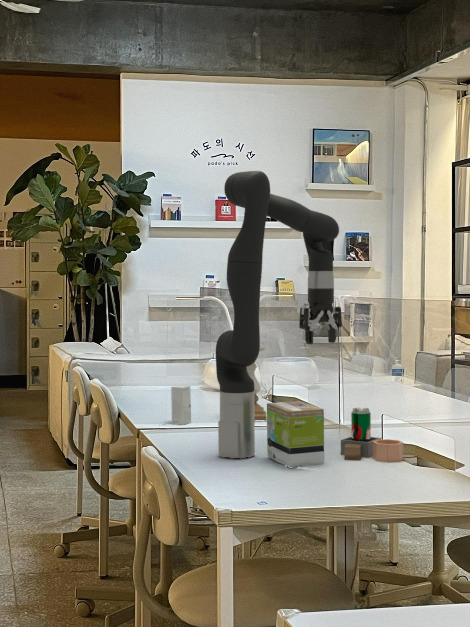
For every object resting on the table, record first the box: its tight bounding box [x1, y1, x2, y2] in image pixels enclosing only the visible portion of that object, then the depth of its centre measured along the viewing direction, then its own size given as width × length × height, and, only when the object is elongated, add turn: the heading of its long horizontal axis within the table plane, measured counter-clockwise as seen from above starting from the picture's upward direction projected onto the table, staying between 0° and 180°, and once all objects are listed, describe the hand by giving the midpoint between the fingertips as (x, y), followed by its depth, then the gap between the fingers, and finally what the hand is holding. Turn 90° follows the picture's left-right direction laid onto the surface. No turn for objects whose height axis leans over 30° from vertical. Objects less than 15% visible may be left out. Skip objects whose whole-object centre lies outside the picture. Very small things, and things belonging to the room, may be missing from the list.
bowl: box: [372, 439, 404, 463], centre depth 246 cm, size 7×7×5 cm
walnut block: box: [343, 444, 362, 461], centre depth 247 cm, size 4×4×4 cm
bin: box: [340, 436, 382, 459], centre depth 253 cm, size 8×8×4 cm
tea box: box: [266, 400, 325, 467], centre depth 246 cm, size 15×10×15 cm, turn 21°
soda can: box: [350, 407, 372, 442], centre depth 253 cm, size 5×5×12 cm
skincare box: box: [170, 384, 192, 426], centre depth 309 cm, size 6×4×12 cm
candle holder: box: [247, 346, 267, 421], centre depth 317 cm, size 11×11×24 cm
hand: (320, 343), depth 276 cm, fingers open, 8 cm apart
